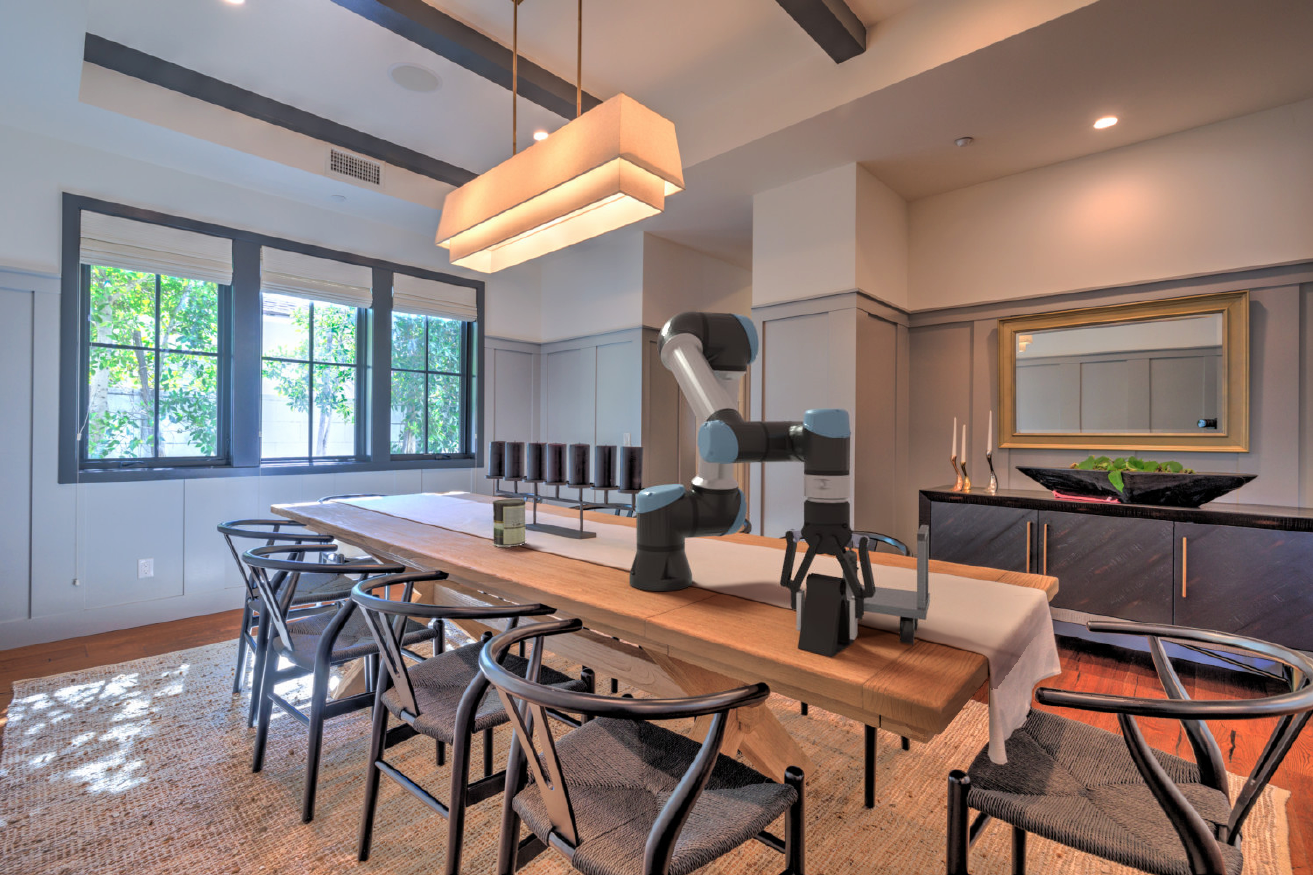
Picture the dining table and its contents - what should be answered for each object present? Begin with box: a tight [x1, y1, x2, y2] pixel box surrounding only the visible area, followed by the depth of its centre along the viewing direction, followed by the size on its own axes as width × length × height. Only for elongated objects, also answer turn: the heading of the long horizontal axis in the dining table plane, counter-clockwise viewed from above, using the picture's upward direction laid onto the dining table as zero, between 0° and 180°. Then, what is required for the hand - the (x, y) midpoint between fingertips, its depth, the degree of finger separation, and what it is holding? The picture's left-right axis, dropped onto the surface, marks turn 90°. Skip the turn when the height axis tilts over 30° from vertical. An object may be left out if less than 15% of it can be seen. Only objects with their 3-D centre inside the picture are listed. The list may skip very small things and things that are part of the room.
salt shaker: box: [840, 546, 863, 585], centre depth 124 cm, size 6×6×12 cm
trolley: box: [846, 524, 931, 645], centre depth 107 cm, size 18×13×19 cm
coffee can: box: [492, 498, 526, 548], centre depth 189 cm, size 10×10×14 cm
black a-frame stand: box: [797, 572, 855, 659], centre depth 99 cm, size 9×6×12 cm, turn 138°
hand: (826, 632), depth 99 cm, fingers open, 8 cm apart
